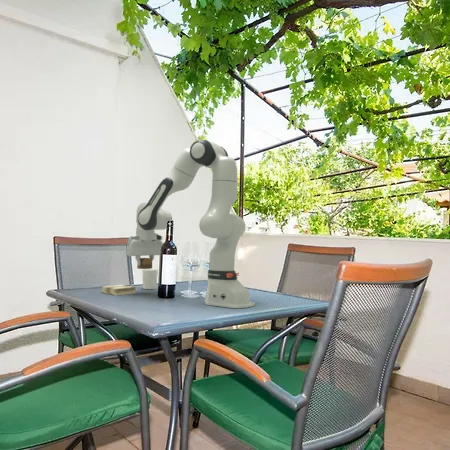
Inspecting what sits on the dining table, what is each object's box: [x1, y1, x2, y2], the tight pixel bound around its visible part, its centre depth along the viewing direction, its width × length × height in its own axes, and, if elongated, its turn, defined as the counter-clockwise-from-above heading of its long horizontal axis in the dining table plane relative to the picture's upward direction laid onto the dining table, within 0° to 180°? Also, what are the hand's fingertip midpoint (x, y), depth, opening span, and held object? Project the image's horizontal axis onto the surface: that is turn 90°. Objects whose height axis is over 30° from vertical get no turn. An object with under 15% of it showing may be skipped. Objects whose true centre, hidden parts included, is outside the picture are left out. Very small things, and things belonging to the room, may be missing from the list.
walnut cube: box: [136, 257, 153, 270], centre depth 204 cm, size 5×5×5 cm
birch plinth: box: [101, 284, 136, 296], centre depth 202 cm, size 11×11×3 cm
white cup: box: [141, 268, 159, 290], centre depth 220 cm, size 8×8×10 cm
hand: (144, 265), depth 204 cm, fingers closed on walnut cube, 5 cm apart
